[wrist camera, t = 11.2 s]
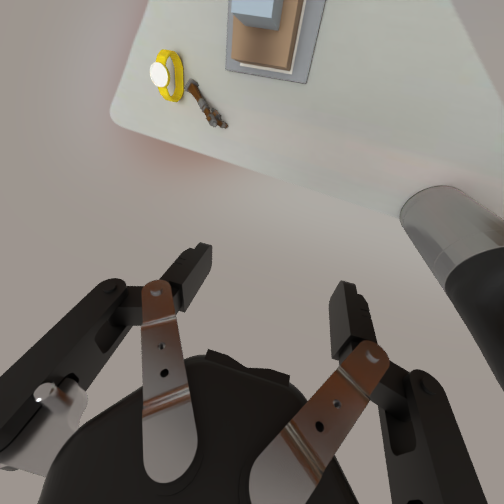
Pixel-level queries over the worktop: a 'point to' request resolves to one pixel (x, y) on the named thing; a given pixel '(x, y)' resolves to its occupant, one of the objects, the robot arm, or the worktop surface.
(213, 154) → the worktop surface
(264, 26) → the gray block
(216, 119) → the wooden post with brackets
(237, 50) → the walnut block
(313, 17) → the build pad
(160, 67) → the watch
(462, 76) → the worktop surface
